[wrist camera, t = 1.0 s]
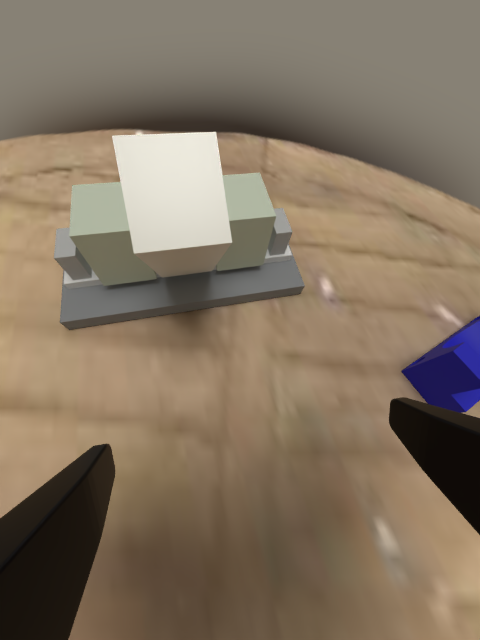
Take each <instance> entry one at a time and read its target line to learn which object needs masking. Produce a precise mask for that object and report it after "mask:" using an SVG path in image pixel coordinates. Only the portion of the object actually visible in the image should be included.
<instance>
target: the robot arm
mask: <svg viewBox="0 0 480 640" xmlns="http://www.w3.org/2000/svg"><path fill="white" fill-rule="evenodd" d="M389 424H390V426H391V428H392V430H393V431H394V432H395V434H396V435H397V436H398V438H399V439H400V440H401V442H402V443H403V444H404V446H405V447H406V448H407V450H408V451H409V452H410V454H411V455H412V456H413V458H414V459H415V461H416V462H417V463H418V464H419V466H420V467H421V468H422V470H423V471H424V472H425V473H426V474H427V476H428V477H429V478H430V479H431V480H432V481H433V482H434V484H435V485H436V486H437V487H438V488H439V489H440V490H441V492H442V493H443V494H444V495H445V496H446V497H447V498H448V500H449V501H450V502H451V503H452V504H453V505H454V506H455V507H456V509H457V510H458V511H459V512H460V513H461V514H462V515H463V517H464V518H465V519H466V520H467V521H468V522H469V523H470V524H471V526H472V527H473V528H474V529H475V530H476V531H477V532H478V534H479V535H480V418H477V417H473V416H470V415H466V414H462V413H459V412H455V411H452V410H448V409H444V408H441V407H437V406H434V405H430V404H426V403H423V402H419V401H416V400H412V399H408V398H404V397H402V398H396V399H393V400H392V401H391V402H390V413H389ZM114 478H115V465H114V460H113V455H112V450H111V447H110V445H109V444H102V445H95V446H93V447H91V448H90V449H89V450H88V451H86V452H85V453H84V454H82V455H81V456H80V457H79V458H77V459H76V460H75V461H73V462H72V463H71V464H70V465H68V466H67V467H66V468H64V469H63V470H62V471H61V472H59V473H58V474H57V475H55V476H54V477H53V478H52V479H50V480H49V481H48V482H46V483H45V484H44V485H43V486H41V487H40V488H39V489H37V490H36V491H35V492H34V493H32V494H31V495H30V496H28V497H27V498H26V499H25V500H23V501H22V502H21V503H19V504H18V505H17V506H16V507H14V508H13V509H12V510H11V511H9V512H8V513H7V514H5V515H4V516H3V517H2V518H0V640H68V639H69V636H70V632H71V629H72V626H73V623H74V620H75V617H76V614H77V611H78V608H79V605H80V602H81V598H82V595H83V592H84V589H85V586H86V583H87V580H88V577H89V574H90V571H91V568H92V565H93V561H94V558H95V555H96V552H97V549H98V546H99V543H100V539H101V536H102V532H103V528H104V523H105V519H106V514H107V510H108V505H109V501H110V496H111V491H112V487H113V482H114Z"/></svg>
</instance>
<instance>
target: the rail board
mask: <svg viewBox="0 0 480 640" xmlns="http://www.w3.org/2000/svg"><path fill="white" fill-rule="evenodd" d="M222 177H223V183H224V190H225V197H226V204H227V210H228V217H229V224H230V231H231V238H232V244H231V245H230V246H229V248H228V249H227V251H226V252H225V253H224V255H223V256H222V258H221V259H220V260H219V262H218V263H217V265H216V266H215V268H214V269H213V270H212V271H210V272H202V273H194V274H187V275H179V276H171V277H164V278H162V277H161V276H160V275H159V274H157V273H156V272H155V271H154V270H153V269H152V268H150V267H149V266H148V265H147V264H146V263H144V262H143V261H142V260H141V259H140V258H139V257H137V256H136V255H135V254H134V251H133V246H132V240H131V235H130V229H129V224H128V219H127V213H126V208H125V202H124V197H123V192H122V186H121V182H113V183H98V184H83V185H72V198H71V215H70V228H61V229H57V230H56V242H55V253H54V259H55V260H56V261H57V262H58V263H59V264H60V266H61V267H62V268H63V269H64V271H63V285H62V300H61V315H60V323H61V324H62V325H64V326H65V327H66V328H68V329H69V330H70V329H77V328H83V327H90V326H96V325H102V324H109V323H115V322H122V321H128V320H135V319H141V318H148V317H154V316H160V315H167V314H173V313H180V312H186V311H193V310H199V309H206V308H212V307H218V306H225V305H231V304H238V303H244V302H251V301H257V300H264V299H270V298H276V297H283V296H289V295H296V294H300V293H301V291H302V290H303V288H304V286H305V285H304V283H303V280H302V278H301V275H300V272H299V270H298V267H297V265H296V262H295V259H294V257H293V254H292V252H291V249H290V246H289V244H288V243H289V240H290V237H291V235H292V229H291V227H290V224H289V222H288V220H287V217H286V215H285V212H284V210H283V208H278V209H273V206H272V203H271V201H270V198H269V196H268V193H267V190H266V188H265V185H264V182H263V180H262V177H261V175H260V173H250V174H234V175H222Z"/></svg>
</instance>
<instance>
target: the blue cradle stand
mask: <svg viewBox="0 0 480 640" xmlns="http://www.w3.org/2000/svg"><path fill="white" fill-rule="evenodd" d="M401 372H402V373H403V374H404V375H405V376H406V378H407V379H408V380H409V381H410V382H411V384H412V385H413V386H414V387H415V389H416V390H417V391H418V392H419V393H420V395H421V396H422V397H423V398H424V399H425V401H426V402H427V403H428V404H430V405H434V406H437V407H441V408H444V409H448V410H452V411H455V412H459V413H461V412H466V411H468V410H469V409H470V408H471V407H472V406H473V405H474V404H476V403H477V402H478V401H479V400H480V316H479V317H477V318H475V319H474V320H473V321H471V322H470V323H468V324H467V325H466V326H464V327H463V328H461V329H460V330H459V331H457V332H456V333H454V334H453V335H451V336H450V337H449V338H447V339H446V340H444V341H443V342H442V343H440V344H439V345H437V346H436V347H435V348H433V349H432V350H430V351H429V352H427V353H426V354H425V355H423V356H422V357H420V358H419V359H418V360H416V361H415V362H413V363H412V364H410V365H409V366H408V367H406V368H405V369H403V370H402V371H401Z"/></svg>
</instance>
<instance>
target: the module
mask: <svg viewBox="0 0 480 640" xmlns="http://www.w3.org/2000/svg"><path fill="white" fill-rule="evenodd" d="M112 138H113V143H114V148H115V154H116V159H117V165H118V170H119V175H120V181H121V186H122V192H123V197H124V202H125V208H126V213H127V219H128V224H129V229H130V235H131V240H132V246H133V251H134V254H135V255H136V256H137V257H139V258H140V259H141V260H142V261H143V262H144V263H146V264H147V265H148V266H149V267H150V268H152V269H153V270H154V271H155V272H156V273H157V274H159V275H160V276H161V277H162V278H164V277H171V276H179V275H187V274H194V273H202V272H210V271H212V270H213V269H214V268H215V266H216V265H217V263H218V262H219V260H220V259H221V258H222V256H223V255H224V253H225V252H226V251H227V249H228V248H229V246H230V245H231V244H232V238H231V231H230V224H229V217H228V210H227V204H226V197H225V190H224V183H223V177H222V170H221V163H220V156H219V149H218V143H217V136H216V132H201V133H174V134H147V135H119V136H112Z"/></svg>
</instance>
